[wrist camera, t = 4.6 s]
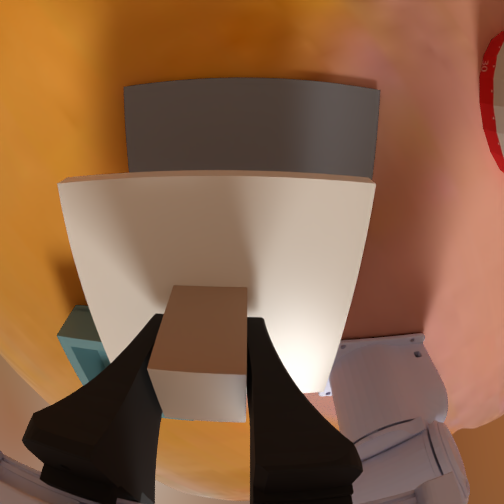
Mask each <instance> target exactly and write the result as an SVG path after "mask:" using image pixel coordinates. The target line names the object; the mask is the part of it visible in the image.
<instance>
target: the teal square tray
mask: <svg viewBox="0 0 504 504" xmlns="http://www.w3.org/2000/svg"><path fill="white" fill-rule="evenodd" d="M57 337H58V339H59V341H60V343H61V345H62V347H63V349H64V351H65V353H66V355H67V357H68V359H69V361H70V363H71V365H72V367H73V368H74V370H75V372H76V374H77V376H78V377H79V379H80V381H81V383H82V384H83V386H84V385H85V384H87V383H88V382H89V381H91V380H92V379H93V378H95V377H96V376H97V375H98V374H99V373H100V372H102V371H103V370H104V369H105V368H106V367H107V366H108V365H109V364H110V361H109V359H108V356H107V354H106V351H105V349H104V347H103V344H102V342H101V339H100V336H99V334H98V331H97V329H96V326H95V323H94V321H93V318H92V315H91V312H90V309H89V306H83V305H76V306H75V307H74V309H73V310H72V312H71V313H70V315H69V316H68V318H67V320H66V321H65V323H64V324H63V326H62V328H61V329H60V331H59V332H58V334H57ZM161 418H168V417H165V416H164V414H163V412H162V417H161ZM169 419H178V418H169ZM180 420H188V419H180ZM191 421H194V420H191Z"/></svg>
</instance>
